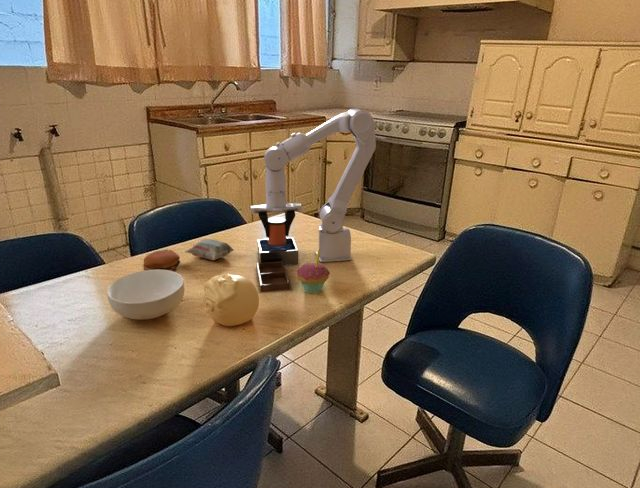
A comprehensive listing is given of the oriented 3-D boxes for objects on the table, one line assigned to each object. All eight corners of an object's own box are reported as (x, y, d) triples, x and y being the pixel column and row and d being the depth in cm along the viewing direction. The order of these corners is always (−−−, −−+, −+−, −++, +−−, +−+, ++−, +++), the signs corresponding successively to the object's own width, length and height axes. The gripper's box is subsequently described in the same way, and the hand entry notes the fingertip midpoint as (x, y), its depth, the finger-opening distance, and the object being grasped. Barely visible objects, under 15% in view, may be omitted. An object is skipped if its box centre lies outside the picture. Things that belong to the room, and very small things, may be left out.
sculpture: (199, 314, 106) (195, 272, 102) (248, 302, 111) (246, 261, 107) (215, 337, 97) (211, 292, 92) (267, 323, 102) (265, 280, 98)
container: (284, 239, 138) (284, 216, 135) (287, 245, 133) (286, 222, 131) (267, 240, 137) (266, 217, 134) (269, 246, 132) (268, 223, 129)
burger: (141, 276, 124) (138, 260, 122) (148, 263, 133) (146, 248, 131) (178, 274, 126) (176, 259, 124) (183, 261, 134) (181, 246, 132)
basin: (293, 250, 143) (292, 237, 141) (298, 264, 133) (298, 250, 131) (258, 253, 141) (257, 239, 139) (260, 267, 131) (260, 252, 129)
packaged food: (214, 266, 131) (213, 250, 129) (185, 257, 137) (183, 242, 135) (234, 256, 138) (234, 241, 136) (206, 249, 144) (204, 234, 142)
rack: (282, 267, 131) (282, 261, 130) (289, 289, 118) (289, 283, 117) (256, 269, 130) (256, 263, 129) (260, 292, 116) (260, 285, 116)
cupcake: (334, 286, 120) (335, 243, 116) (320, 299, 113) (320, 255, 108) (305, 280, 123) (305, 238, 119) (290, 292, 116) (289, 249, 112)
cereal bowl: (111, 301, 111) (106, 275, 108) (182, 290, 117) (179, 265, 114) (111, 337, 96) (105, 307, 94) (191, 321, 102) (188, 293, 100)
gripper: (250, 195, 124) (253, 241, 129) (303, 193, 127) (303, 238, 132) (249, 189, 130) (251, 233, 135) (299, 187, 133) (299, 230, 138)
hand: (276, 235), depth 134 cm, fingers closed on container, 5 cm apart
